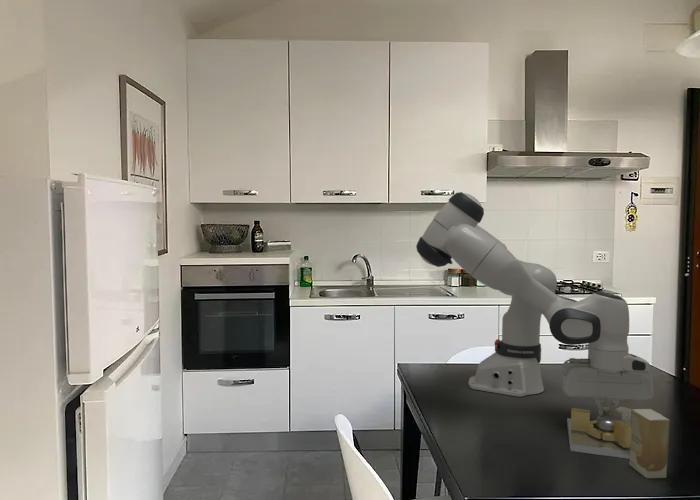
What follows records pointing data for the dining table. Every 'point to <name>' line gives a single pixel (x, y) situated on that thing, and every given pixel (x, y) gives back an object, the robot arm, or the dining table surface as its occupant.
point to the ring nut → (619, 435)
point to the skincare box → (649, 443)
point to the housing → (597, 440)
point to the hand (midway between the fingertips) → (606, 415)
